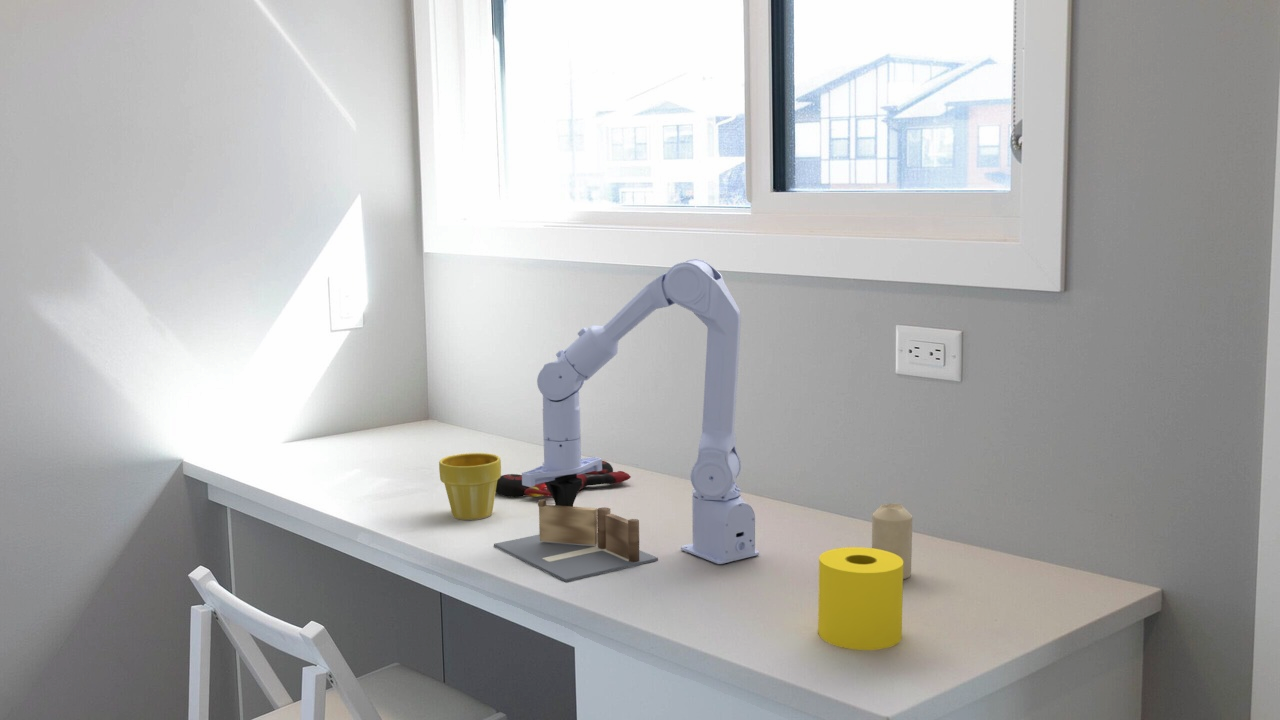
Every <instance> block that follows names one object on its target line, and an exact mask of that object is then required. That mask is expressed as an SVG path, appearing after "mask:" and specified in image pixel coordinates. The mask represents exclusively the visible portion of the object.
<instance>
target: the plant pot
mask: <svg viewBox="0 0 1280 720" xmlns="http://www.w3.org/2000/svg"><path fill="white" fill-rule="evenodd" d="M438 463H439V464H438V465H439V466H438V468H439V479H440V482H441V483H443V484H444V487H445V490H446V495H447V500H448V502H449V506H450V510H451V515H452V517H453V518H454V519H456V520H462V521H476V520H482V519H486V518H489V517H490V516H492V514H493V511H494V503H495V498H496V486H497V480H498V479H499V478H500V477H501V476H502V460H501V457H500V456H499V455H496V454H493V453H487V452H486V453H484V452H471V453H470V452H469V453H458V454H452V455H449V456H446V457H443V458H441V459H440V460H439V462H438Z"/></svg>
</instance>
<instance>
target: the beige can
mask: <svg viewBox="0 0 1280 720" xmlns="http://www.w3.org/2000/svg"><path fill="white" fill-rule="evenodd" d="M871 519H872V523H871V527H872V528H871V548H873V549H879V550H884V551H888V552H891V553H894V554H896V555H898V556H899V557H901V558H902V560H903V580H906V579H909V578H910V577H911V575H912V553H913V548H912V546H913V520H914V519H913V515H912V514H911V513H910V512H909V510H907V509H906V508H905V507H904V506H903V505H902V504H900V503H888V504H883V503H882V504H880V506H879V507H878V508H877V509H876V510H875V511H874V512H873V513H872V518H871Z"/></svg>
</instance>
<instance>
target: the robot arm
mask: <svg viewBox="0 0 1280 720" xmlns="http://www.w3.org/2000/svg"><path fill="white" fill-rule="evenodd" d="M674 304H676V305H678V306H680V307H682V308H684V309H686V310H688V311H691V312H692V313H693V314H694V315H695V316H696V317H697V318H698V319H699V320H700V321H701V322H702V323H703V325H705V326H706V327H707V328H706V329H707V337H706V354H705V355H706V356H705V371H704V390H703V391H704V393H703V408H702V410H703V411H702V427H701V436H700V441H699V444H698V450H697V451H698V452H697V453H698V454H697V459H696V462H695V463H694V465H693V466H692V469H691V470H690V482H691V485H692V487H693V489H692V493H691V494H692V495H691V496H692V502H691V503H692V506H691V507H692V543H688V544H685V545H681V546H680V550H681V551H684V552H687V553H689V554H692V555H694V556H696V557H700V558H702V559H704V560H707V561H710V563H711V562H712V563H714V564H717V565H723V564H726V563H732V562H735V561H739V560H744V559H747V558H752V557H756V556H759V555H760V551H759V550H757V549H756V514H755V511H754V509H753V507H752V506H751V505H750V504H749V503H747V502H745V500H744V499H743V497H742V496H741V488H739V486H738V484H737V483H736V482H735V481H736V479H737V478H738V476H739V475H740V473H741V469H742V462H741V458H740V456H739V453H738V451H737V437H736V433H735V432H736V431H735V427H736V426H735V424H736V413H737V412H736V411H737V391H738V376H739V375H738V374H739V360H740V359H739V358H740V357H739V356H740V340H741V326H742V325H741V324H742V314H741V310H740V309H739V306H738V304H737V303H736V300H735V299H734V297H733V296H732V294H731V292H730V290H729V288H728V286H727V285H726V283H725V280H724V277H723V275H722V274H721V272H719V271H718V270H717V269H716V268H715V267H714V266H712V265H711V264H710V263H709V262H707V261H705V260H703V259H701V258H700V259H699V258H692V259H689V260H686V261H682V262H679V263H678V262H677V263H676V264H674V265H673V266H671V268H669V270H668V271H667V272H665V273H662V274H661V275H659V276H658V277H656V278H655V279H653V280H652V281H650V282H649V283H648V284H646V285H645V286H644V287H643V288H642V289H641V290H640V291H639V292H638V293H637V294H635V296H634V297H633V298H632V299H630V301H628V302H627V304H625V305H624V306H623V307H622V308H621V309H620V310H619V311H618V312H617V313H616V314H615V315H613V317H612V318H611V319H610V320H608V322H607V323H605V325H596V324H594V325H591V326H590V327H589V328H587V327H583V328H581V329H580V330H579V331H578V332H577V335H578V338H576V339H575V340H574V341H573V342H572V343H571V344H570V345H569V346H567V348H565V350H563V349H560V350H558V351H557V352H556V354H555V356H556V357H557V359H556V360H554V361H551V362H550V361H549V362H547V363H545V364H544V365H543V368H541V370H540V371H539V372H538V375H537V377H536V378H537V379H536V384H537V387H538V391H539V392H540V393H541V395H542V433H543V434H542V436H543V461H544V462H542V465H540V466H538V467H535V468H533V469H531V470H527V471H524V472H521V475H522V485H524V486H528V487H533V486H535V485H536V484H540V483H544V482H545V485H546V486H547V488H548V489H549V491H550V493H551V495H552V499H553V501H554V505H558V506H572V507H574V503H575V500H576V498H577V496H578V493H579V491H580V490H581V489H580V488H581V486H582V479H581V478H577V475H579V474H583V473H587V472H592V471H602V461H603V459H602V458H601V457H596V456H592V457H591V456H590V457H586V458H582V444H581V443H582V442H581V441H582V440H581V439H582V437H581V436H582V435H581V407H580V390H581V388H582V387H583V385H584V382H585V381H588V380H590V379H591V378H592V377H593V376H594V375H595V374H596V373H598V372H599V371H600V369H602V367H603V368H604V366H605V365H606V364H607V363H608V362H609V361H611V360H612V359H613V358H614V357H615V356H617V354H618V349H619V348H618V347H619V341H620V340H621V339H622V338H624V337H625V336H626V335H628V334H629V332H631V331H632V330H633V329H634V328H636V327H637V326H638V325H639V324H640V323H642V322H643V321H644V320H645V319H646V318H648V317H649V316H650V315H651V314H652V313H653V312H655V311H656V310H658V309H663V308H667V307H670V306H673V305H674Z"/></svg>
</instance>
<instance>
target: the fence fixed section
mask: <svg viewBox="0 0 1280 720" xmlns="http://www.w3.org/2000/svg"><path fill="white" fill-rule="evenodd" d="M597 533H598V548H600V549H606V550H608V551H610V552H612V553H615V554H617V555H619V556H622V557H624V558H626V559H629V561H630V562H638V561H639V550H640V519H637V518H631V519H627V518H624V517H622V516H619V515H616V514H614V513H611V508H609V507H598V508H597Z"/></svg>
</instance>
